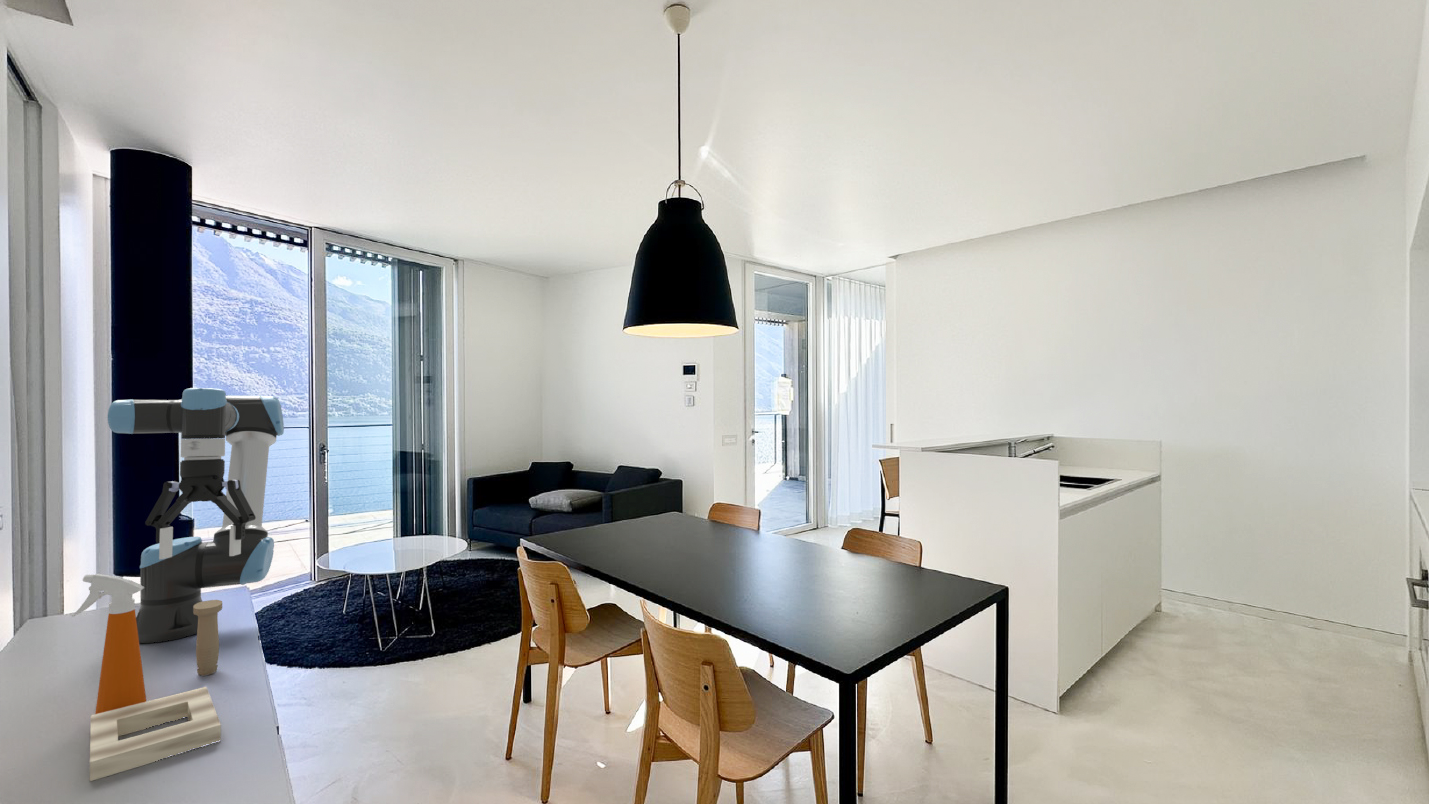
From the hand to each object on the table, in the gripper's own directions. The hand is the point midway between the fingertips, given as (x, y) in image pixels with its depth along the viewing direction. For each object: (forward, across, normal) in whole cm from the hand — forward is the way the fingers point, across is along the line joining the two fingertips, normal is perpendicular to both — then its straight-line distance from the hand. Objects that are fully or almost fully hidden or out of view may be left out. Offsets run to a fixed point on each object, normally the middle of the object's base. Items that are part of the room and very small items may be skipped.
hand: (200, 556), depth 134 cm
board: (+27, +9, -26) cm, 38 cm away
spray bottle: (+26, -6, -14) cm, 31 cm away
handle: (+26, +1, +1) cm, 26 cm away
